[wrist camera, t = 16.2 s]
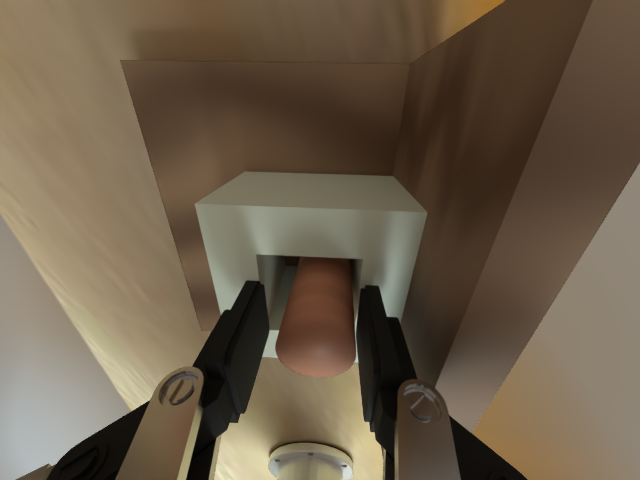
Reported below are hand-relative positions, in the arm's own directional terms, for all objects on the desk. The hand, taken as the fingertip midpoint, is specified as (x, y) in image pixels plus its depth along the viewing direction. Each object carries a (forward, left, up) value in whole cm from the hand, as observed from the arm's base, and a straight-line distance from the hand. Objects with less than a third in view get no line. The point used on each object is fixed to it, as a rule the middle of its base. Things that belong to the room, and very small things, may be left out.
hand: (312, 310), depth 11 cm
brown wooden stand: (0, +2, -8) cm, 9 cm away
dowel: (0, -1, -7) cm, 7 cm away
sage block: (0, 0, -7) cm, 7 cm away
